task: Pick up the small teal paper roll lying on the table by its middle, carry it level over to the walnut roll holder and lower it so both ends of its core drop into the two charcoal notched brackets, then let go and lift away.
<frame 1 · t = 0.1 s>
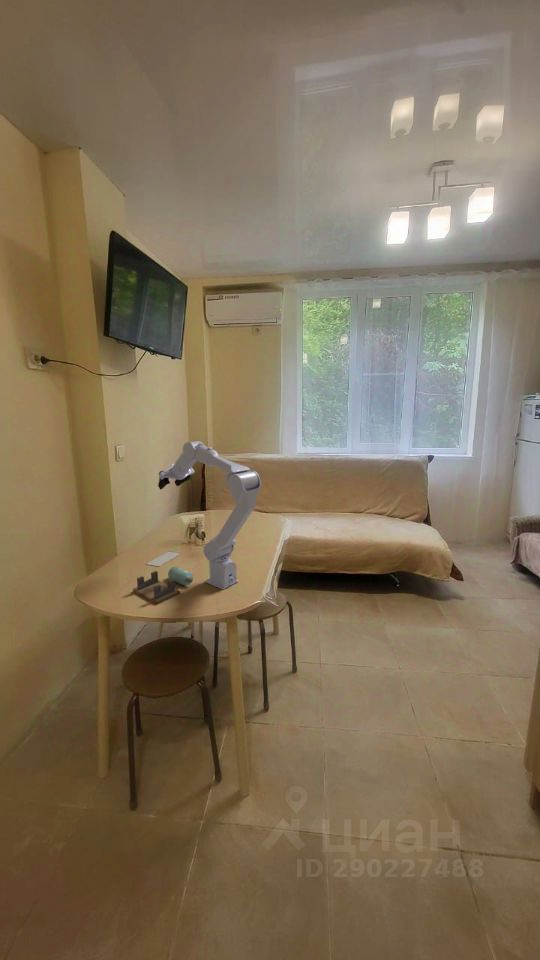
hand: (168, 485, 142), 32 cm above the table, tool tilted 50°, fingers open, 7 cm apart
holder: (156, 592, 123), on the table
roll: (180, 576, 130), point 2 cm above the table
smartphone: (164, 560, 152), on the table
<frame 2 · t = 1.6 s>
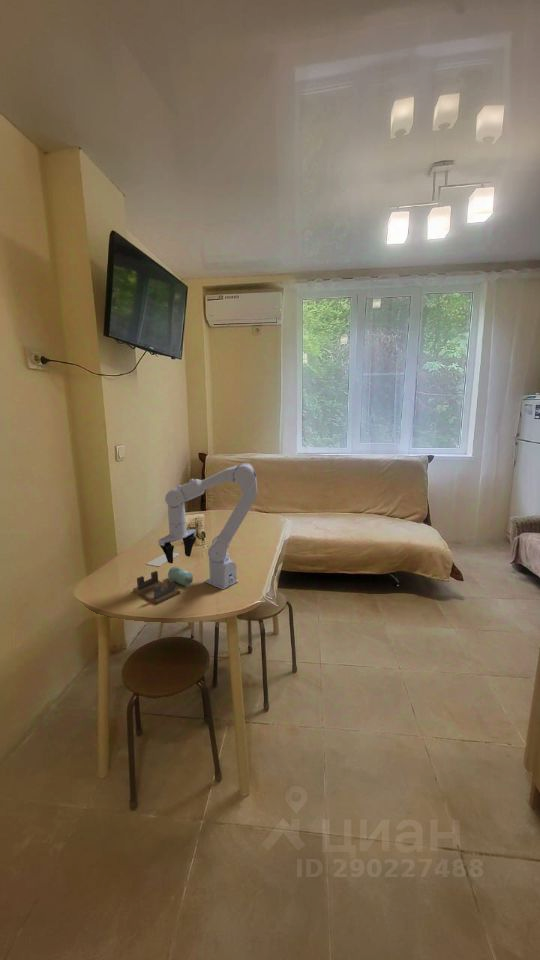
hand: (179, 559, 129), 9 cm above the table, tool pointing down, fingers open, 7 cm apart
nothing on the table moved.
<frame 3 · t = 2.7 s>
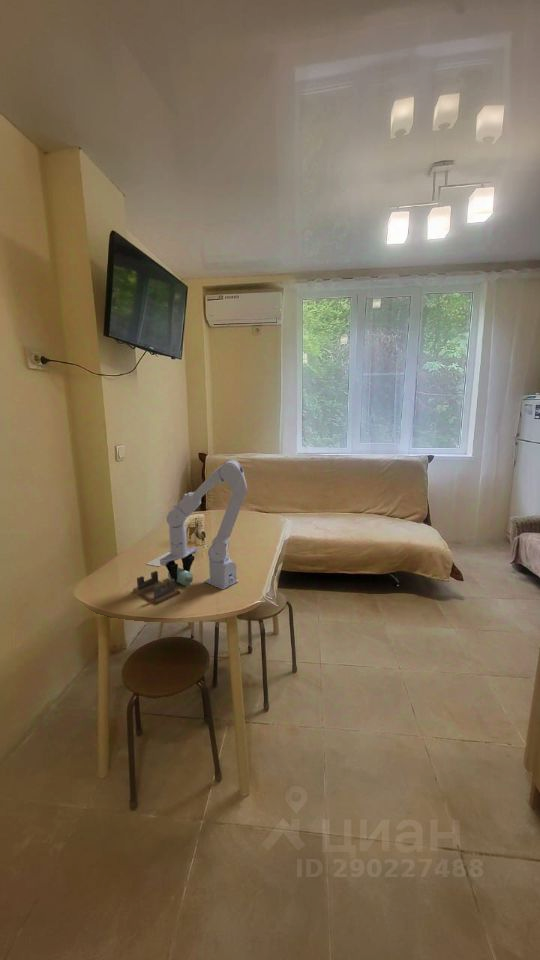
hand: (180, 577, 130), 2 cm above the table, tool pointing down, fingers closed on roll, 5 cm apart
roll: (180, 575, 130), point 2 cm above the table, touching gripper
everything else where it was.
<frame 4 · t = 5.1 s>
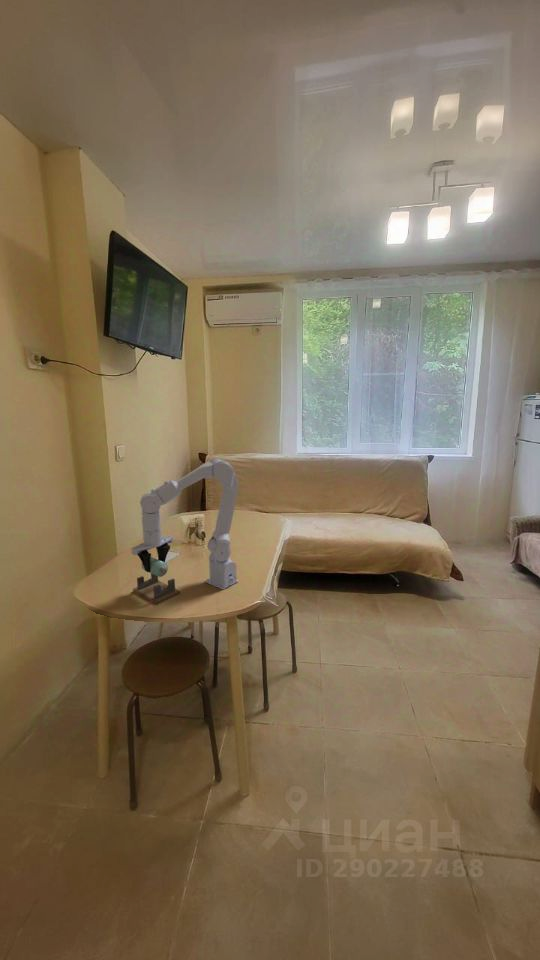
hand: (154, 568, 121), 9 cm above the table, tool pointing down, fingers closed on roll, 5 cm apart
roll: (154, 566, 121), point 9 cm above the table, touching gripper
everything else where it was.
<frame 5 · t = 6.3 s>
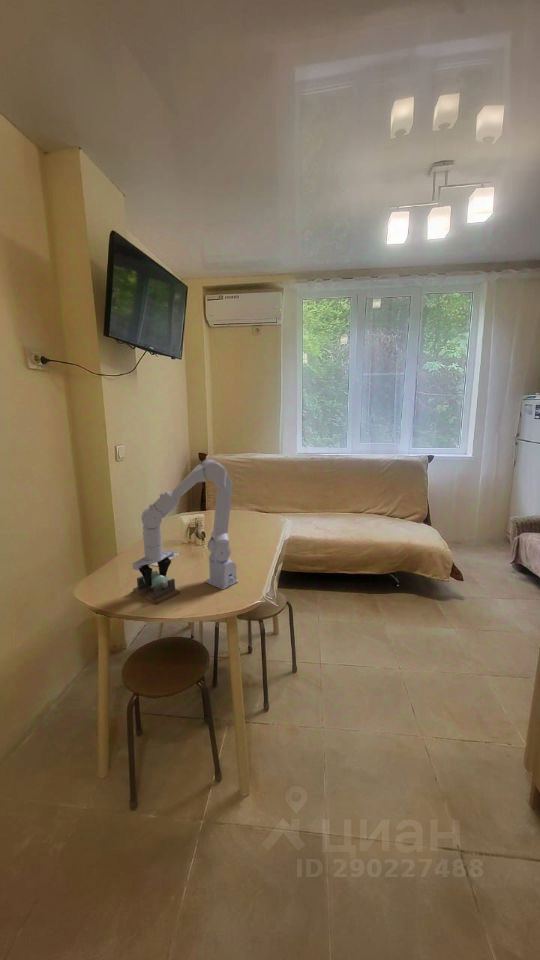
hand: (155, 582, 122), 4 cm above the table, tool pointing down, fingers closed on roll, 5 cm apart
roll: (155, 580, 122), point 4 cm above the table, touching gripper
everything else where it was.
when the fingers open (4 cm above the table, at t = 7.4 s): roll stays where it is, resting on holder.
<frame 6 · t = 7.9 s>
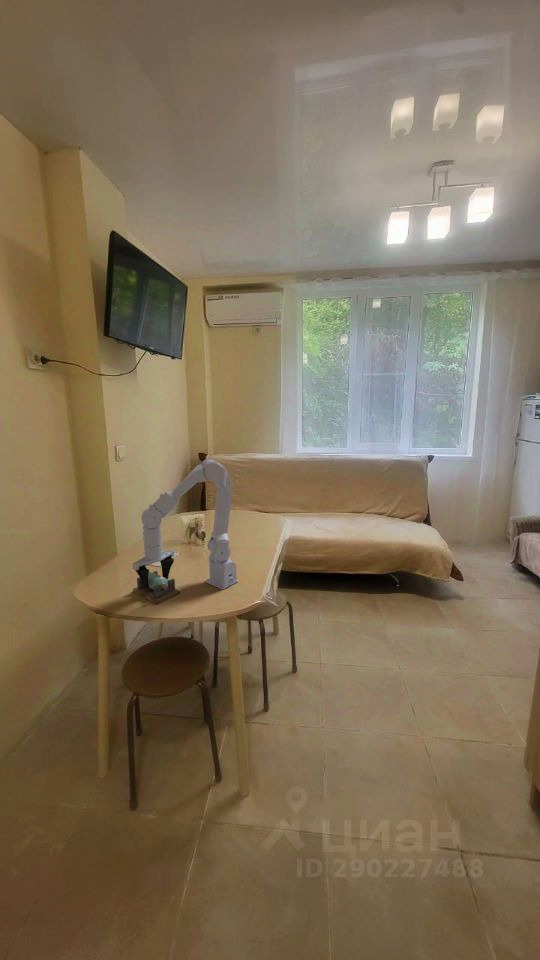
hand: (155, 582, 122), 4 cm above the table, tool pointing down, fingers open, 7 cm apart
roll: (155, 582, 122), point 4 cm above the table, touching holder
everything else where it was.
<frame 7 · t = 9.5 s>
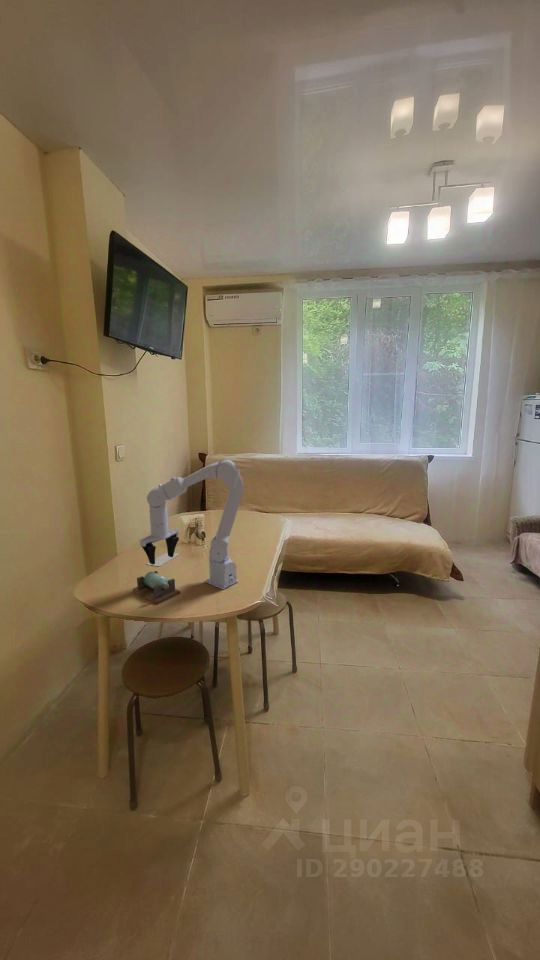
hand: (161, 559, 126), 9 cm above the table, tool pointing down, fingers open, 7 cm apart
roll: (156, 581, 122), point 4 cm above the table, tilted 20°, touching holder
everything else where it was.
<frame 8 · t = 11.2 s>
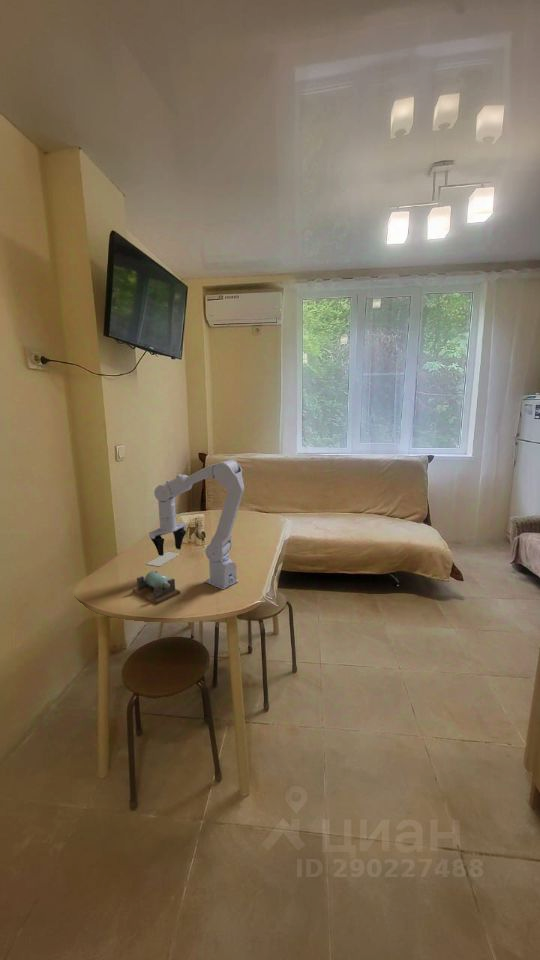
hand: (169, 551, 134), 9 cm above the table, tool pointing down, fingers open, 7 cm apart
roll: (157, 581, 123), point 4 cm above the table, tilted 49°, touching holder
everything else where it was.
at the end: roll 0.8 cm off-centre on the holder, point 3.8 cm above the holder's base; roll touching holder; the gripper is holding nothing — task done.
